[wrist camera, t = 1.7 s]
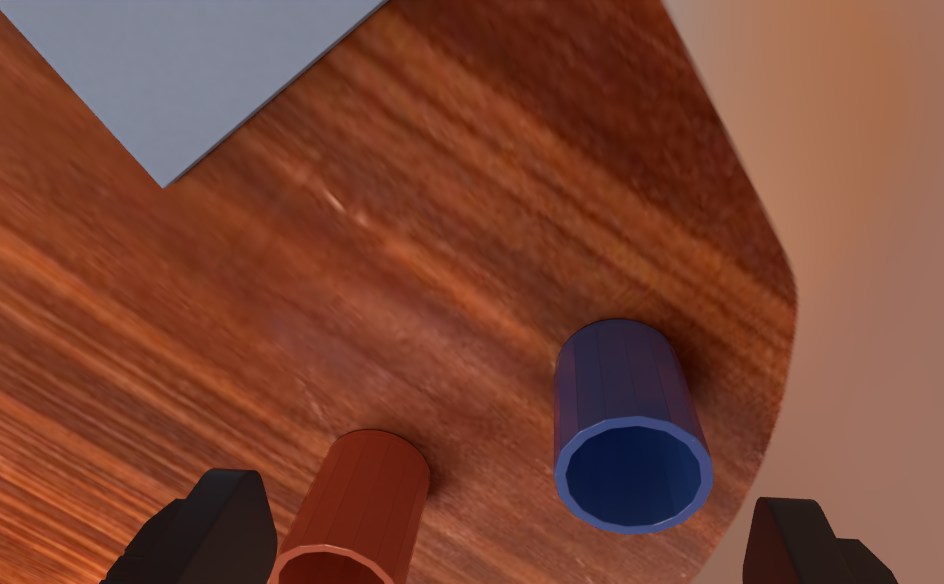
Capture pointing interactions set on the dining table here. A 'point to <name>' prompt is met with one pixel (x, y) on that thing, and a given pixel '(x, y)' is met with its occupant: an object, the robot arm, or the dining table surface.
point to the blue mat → (181, 63)
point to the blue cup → (627, 431)
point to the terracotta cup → (357, 514)
